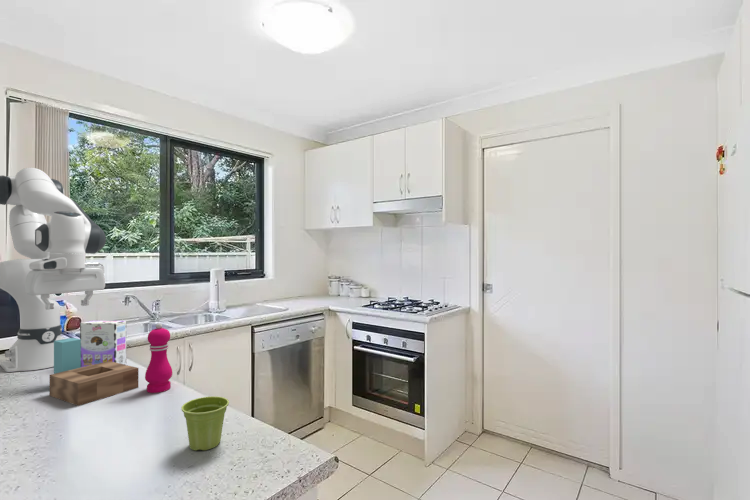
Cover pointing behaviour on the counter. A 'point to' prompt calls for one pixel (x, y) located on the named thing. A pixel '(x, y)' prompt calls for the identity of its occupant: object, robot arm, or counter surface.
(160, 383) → the pepper mill
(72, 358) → the teal rectangular block
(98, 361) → the candy box
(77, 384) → the wooden holder
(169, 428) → the counter surface
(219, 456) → the counter surface
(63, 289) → the robot arm
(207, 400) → the plant pot
